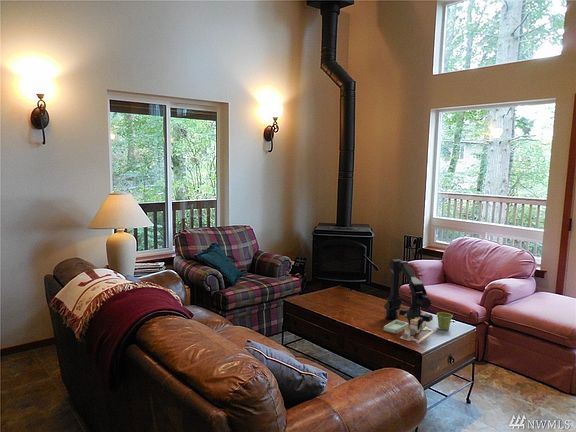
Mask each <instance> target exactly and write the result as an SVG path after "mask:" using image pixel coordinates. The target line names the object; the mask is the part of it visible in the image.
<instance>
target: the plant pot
mask: <svg viewBox="0 0 576 432" xmlns="http://www.w3.org/2000/svg"><path fill="white" fill-rule="evenodd" d="M436 317H437V323H438V324H437V325H438V328H439V330H443V331H447V330H448V331H449V330H450V327H451V322H452V318H453V314H451V313H448V312H442V311H441V312H437V313H436Z"/></svg>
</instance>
